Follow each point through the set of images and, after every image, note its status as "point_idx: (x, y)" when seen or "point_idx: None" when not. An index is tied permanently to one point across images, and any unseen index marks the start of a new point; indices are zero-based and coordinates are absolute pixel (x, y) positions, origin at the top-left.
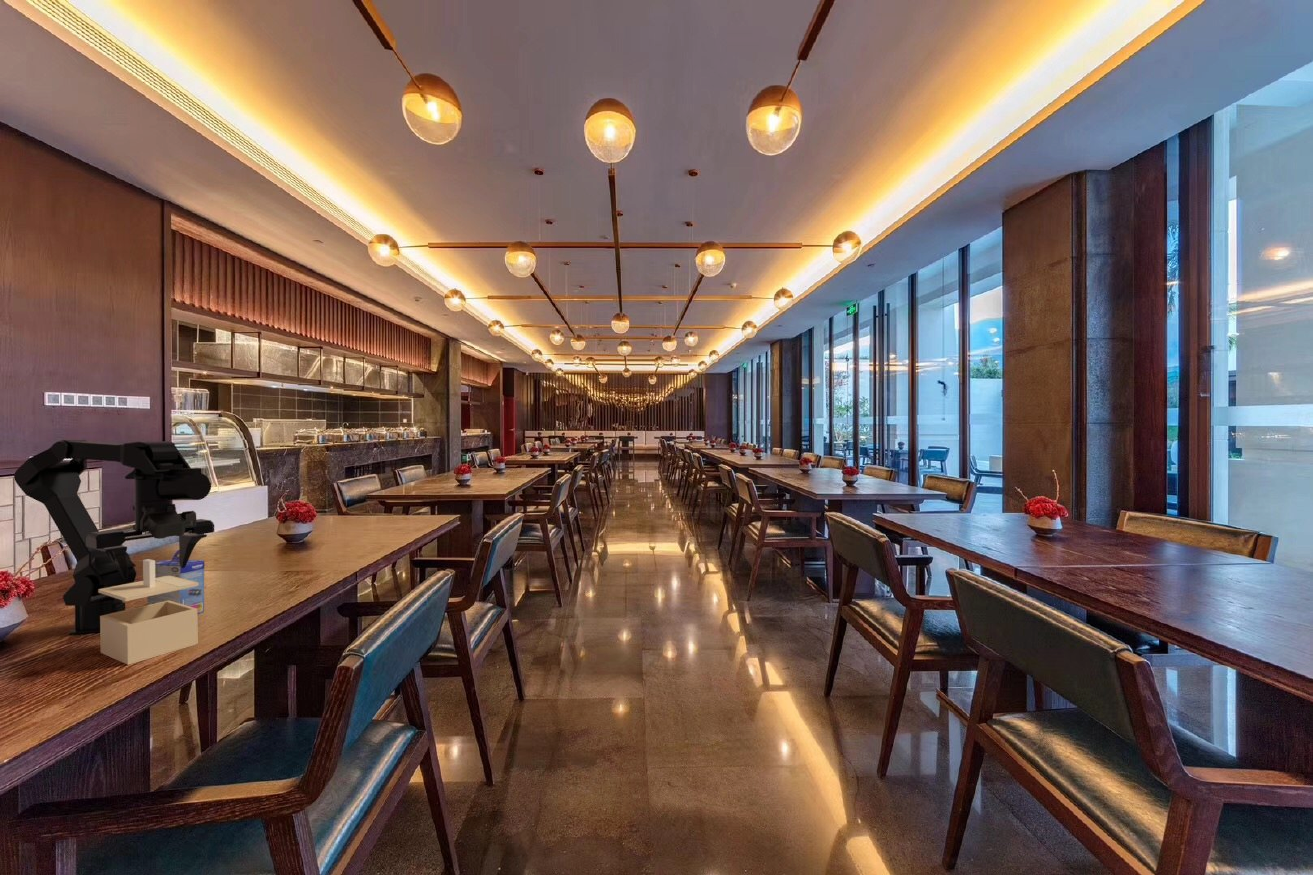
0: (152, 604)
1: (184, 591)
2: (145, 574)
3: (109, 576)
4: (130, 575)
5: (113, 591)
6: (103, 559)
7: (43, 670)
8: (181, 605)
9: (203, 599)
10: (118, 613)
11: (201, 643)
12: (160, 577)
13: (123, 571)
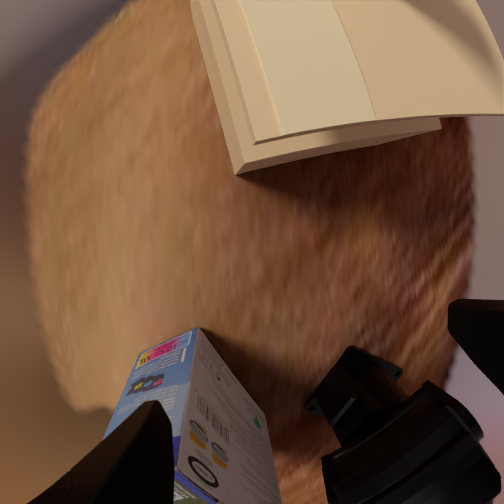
0: (307, 140)
1: (175, 381)
2: None
3: (433, 443)
4: (356, 478)
5: (470, 7)
6: (471, 498)
7: (444, 120)
8: (215, 20)
9: (130, 375)
10: (402, 121)
11: (184, 16)
12: (320, 106)
13: (497, 303)
